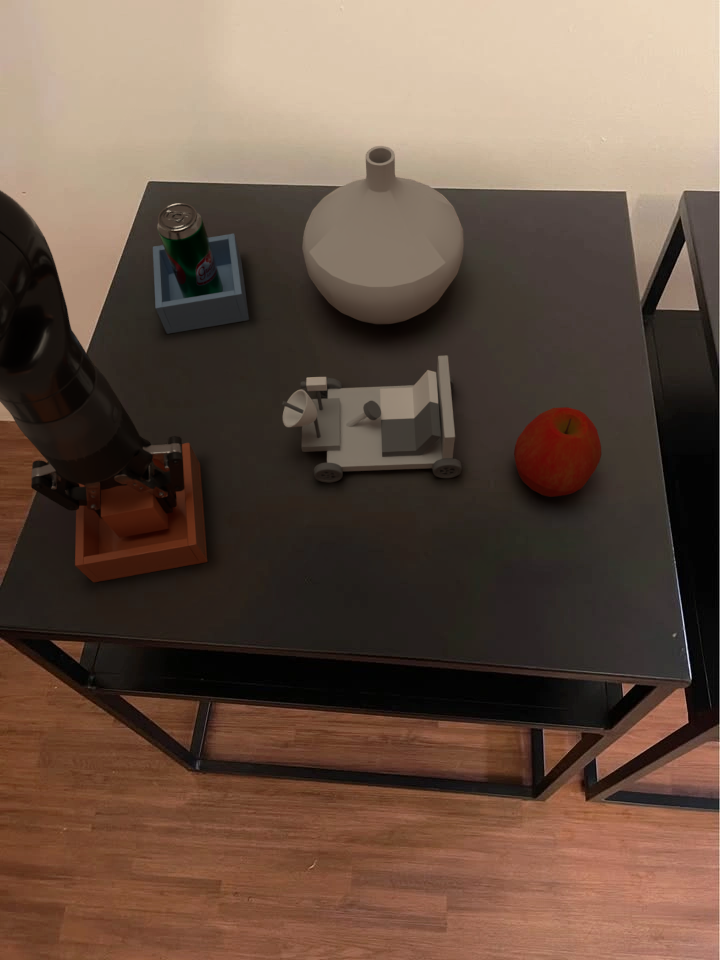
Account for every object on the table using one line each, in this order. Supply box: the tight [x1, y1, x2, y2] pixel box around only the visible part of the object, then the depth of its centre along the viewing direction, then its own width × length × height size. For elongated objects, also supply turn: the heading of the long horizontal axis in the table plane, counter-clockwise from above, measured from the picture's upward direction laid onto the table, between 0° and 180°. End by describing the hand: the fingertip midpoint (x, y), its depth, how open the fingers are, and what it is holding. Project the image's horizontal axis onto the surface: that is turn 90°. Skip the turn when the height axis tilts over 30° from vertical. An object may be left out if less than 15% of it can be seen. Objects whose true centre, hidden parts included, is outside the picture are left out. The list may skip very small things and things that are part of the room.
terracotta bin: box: [74, 442, 208, 583], centre depth 73 cm, size 12×12×5 cm
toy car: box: [281, 355, 463, 483], centre depth 74 cm, size 18×10×12 cm
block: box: [101, 485, 168, 538], centre depth 71 cm, size 5×5×5 cm
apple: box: [513, 406, 602, 498], centre depth 70 cm, size 8×8×11 cm
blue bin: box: [152, 233, 250, 335], centre depth 88 cm, size 10×10×5 cm
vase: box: [301, 145, 465, 325], centre depth 80 cm, size 18×18×19 cm
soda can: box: [156, 202, 223, 298], centre depth 84 cm, size 5×5×12 cm
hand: (141, 509), depth 73 cm, fingers closed on block, 5 cm apart
